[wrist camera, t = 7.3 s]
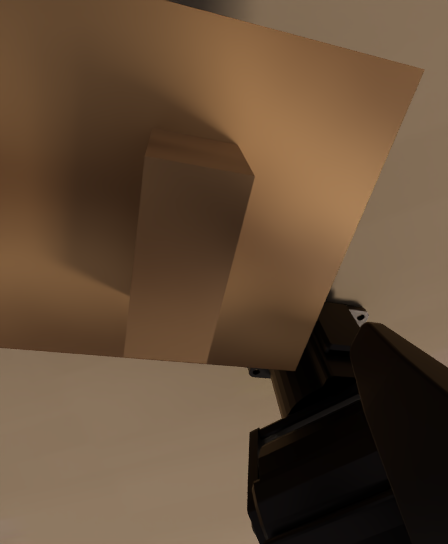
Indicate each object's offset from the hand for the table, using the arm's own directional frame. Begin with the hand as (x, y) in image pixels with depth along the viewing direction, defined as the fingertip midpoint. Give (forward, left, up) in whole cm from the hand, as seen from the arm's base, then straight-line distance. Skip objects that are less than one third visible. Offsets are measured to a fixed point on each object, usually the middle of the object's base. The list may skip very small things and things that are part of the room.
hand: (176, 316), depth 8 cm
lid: (0, 0, -6) cm, 6 cm away
